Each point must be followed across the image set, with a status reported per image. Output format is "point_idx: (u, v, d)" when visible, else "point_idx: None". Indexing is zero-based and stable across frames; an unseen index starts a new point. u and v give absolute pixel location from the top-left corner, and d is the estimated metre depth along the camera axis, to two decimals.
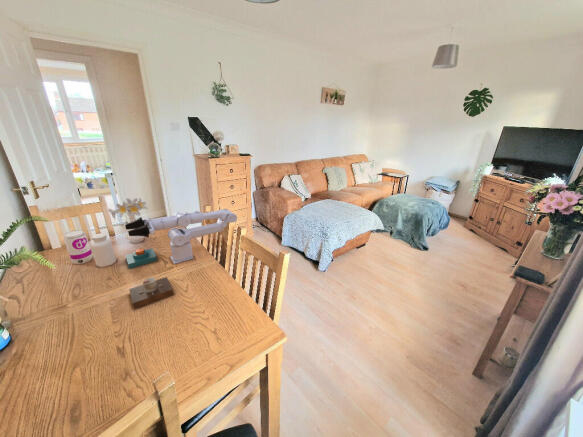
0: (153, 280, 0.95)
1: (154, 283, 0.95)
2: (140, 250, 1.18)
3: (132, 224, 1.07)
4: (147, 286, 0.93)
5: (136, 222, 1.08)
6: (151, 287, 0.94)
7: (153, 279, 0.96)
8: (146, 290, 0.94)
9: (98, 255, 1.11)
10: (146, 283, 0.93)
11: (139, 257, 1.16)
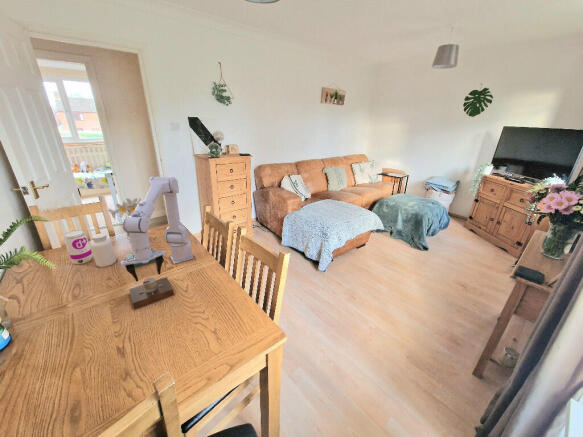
0: (153, 280, 0.95)
1: (154, 283, 0.95)
2: None
3: (136, 275, 0.90)
4: (147, 286, 0.93)
5: (135, 272, 0.89)
6: (151, 287, 0.94)
7: (153, 279, 0.96)
8: (146, 290, 0.94)
9: (98, 255, 1.11)
10: (146, 283, 0.93)
11: None
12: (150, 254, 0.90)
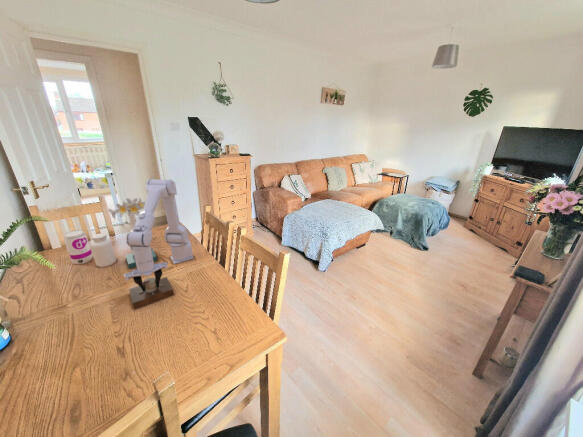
0: (153, 280, 0.95)
1: (154, 283, 0.95)
2: None
3: None
4: (147, 286, 0.93)
5: (142, 283, 0.92)
6: (151, 287, 0.94)
7: (153, 279, 0.96)
8: (146, 290, 0.94)
9: (98, 255, 1.11)
10: (146, 283, 0.93)
11: None
12: (153, 266, 0.92)
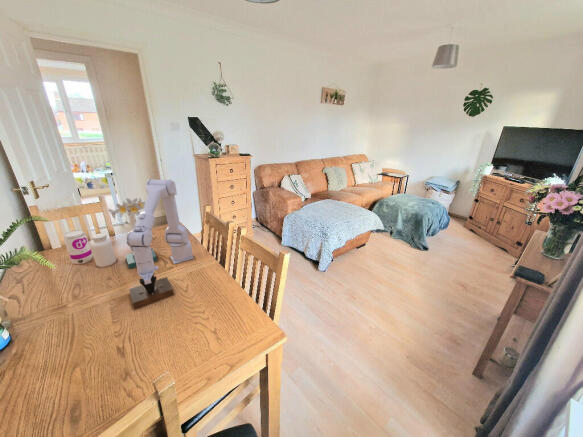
0: None
1: None
2: None
3: None
4: (155, 283, 0.95)
5: None
6: None
7: None
8: (154, 288, 0.95)
9: (98, 255, 1.11)
10: None
11: None
12: None
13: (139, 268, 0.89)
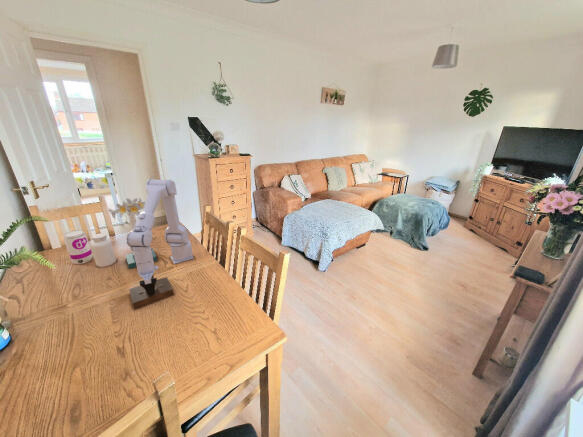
0: (151, 278, 0.96)
1: None
2: None
3: None
4: None
5: None
6: None
7: None
8: None
9: (98, 255, 1.11)
10: None
11: None
12: None
13: (139, 268, 0.89)
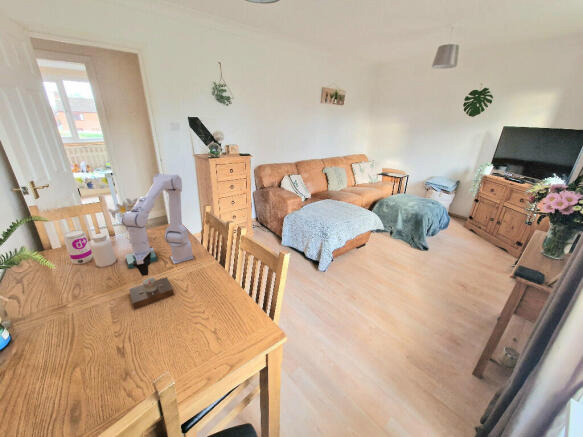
0: (151, 278, 0.96)
1: None
2: None
3: None
4: (155, 283, 0.95)
5: None
6: None
7: (149, 278, 0.96)
8: (154, 288, 0.95)
9: (98, 255, 1.11)
10: (152, 281, 0.95)
11: None
12: None
13: (133, 248, 0.91)
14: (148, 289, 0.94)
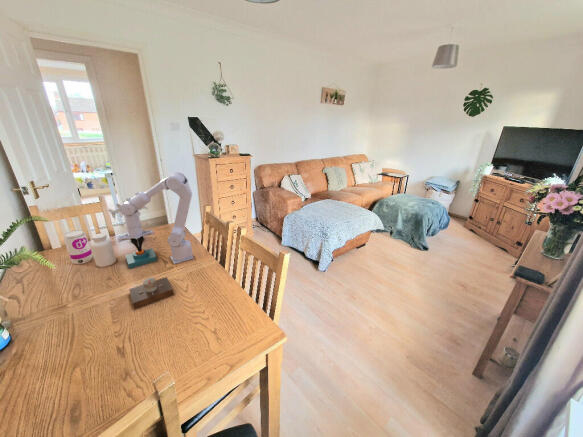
0: (151, 278, 0.96)
1: None
2: None
3: (138, 246, 1.16)
4: (155, 283, 0.95)
5: (137, 243, 1.15)
6: None
7: (149, 278, 0.96)
8: (154, 288, 0.95)
9: (98, 255, 1.11)
10: (152, 281, 0.95)
11: (139, 257, 1.16)
12: (141, 232, 1.14)
13: None
14: (148, 289, 0.94)
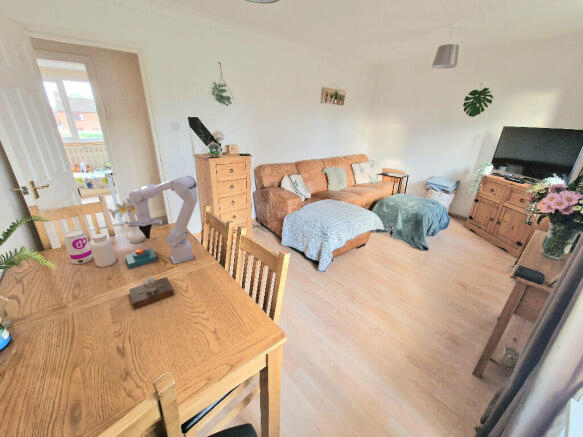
0: (151, 278, 0.96)
1: None
2: (140, 250, 1.18)
3: None
4: (155, 283, 0.95)
5: (145, 231, 1.19)
6: None
7: (149, 278, 0.96)
8: (154, 288, 0.95)
9: (98, 255, 1.11)
10: (152, 281, 0.95)
11: (139, 257, 1.16)
12: (148, 220, 1.17)
13: None
14: (148, 289, 0.94)
